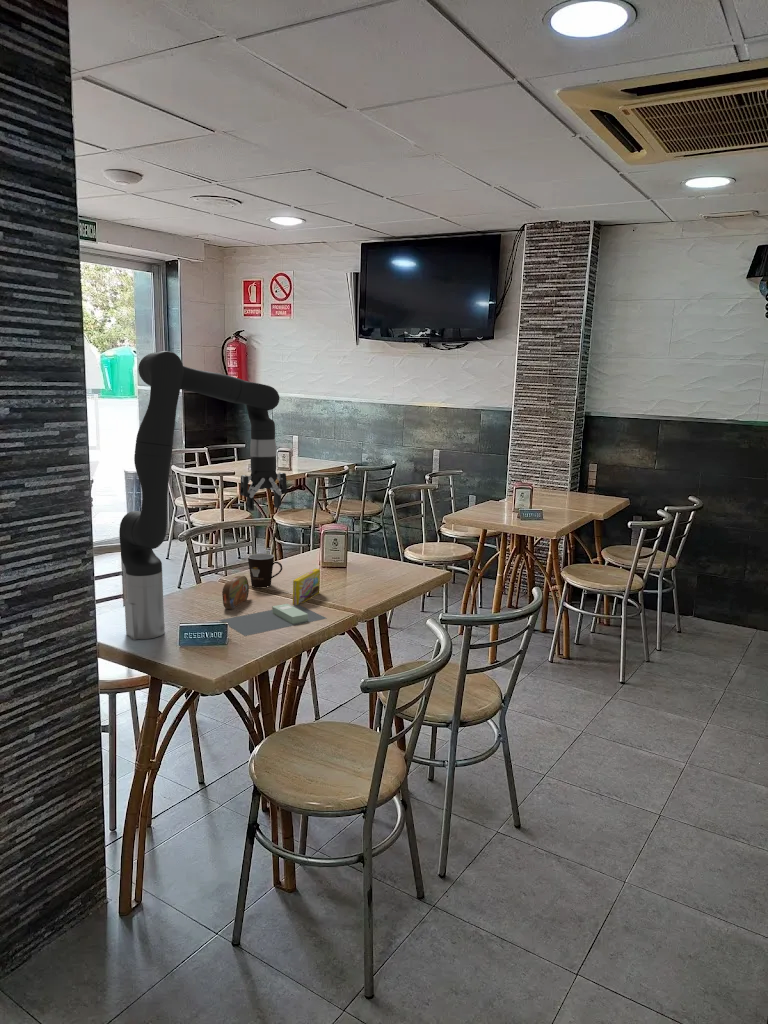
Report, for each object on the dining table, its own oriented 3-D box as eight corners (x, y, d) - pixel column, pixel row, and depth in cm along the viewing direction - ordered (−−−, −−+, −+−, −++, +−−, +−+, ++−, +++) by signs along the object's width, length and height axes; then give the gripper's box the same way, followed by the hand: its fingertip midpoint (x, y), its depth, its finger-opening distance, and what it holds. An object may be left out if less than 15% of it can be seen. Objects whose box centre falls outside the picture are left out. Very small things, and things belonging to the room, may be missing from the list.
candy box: (298, 607, 222) (298, 580, 221) (292, 606, 223) (291, 580, 222) (320, 593, 237) (320, 568, 236) (314, 592, 238) (314, 567, 237)
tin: (230, 613, 215) (230, 585, 214) (220, 612, 216) (220, 585, 214) (250, 599, 230) (249, 573, 228) (240, 598, 230) (240, 572, 229)
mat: (244, 638, 194) (244, 635, 194) (219, 622, 207) (219, 620, 207) (327, 620, 210) (327, 618, 210) (298, 606, 222) (298, 604, 222)
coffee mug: (243, 585, 245) (242, 556, 244) (264, 580, 251) (264, 552, 249) (262, 592, 237) (262, 562, 235) (284, 587, 243) (284, 558, 241)
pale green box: (292, 616, 204) (272, 606, 214) (292, 623, 204) (272, 612, 214) (307, 613, 207) (287, 603, 216) (307, 620, 207) (287, 610, 217)
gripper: (278, 452, 222) (279, 505, 224) (235, 454, 213) (236, 509, 216) (290, 454, 216) (291, 508, 218) (247, 456, 207) (248, 513, 210)
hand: (264, 508), depth 217 cm, fingers open, 8 cm apart
